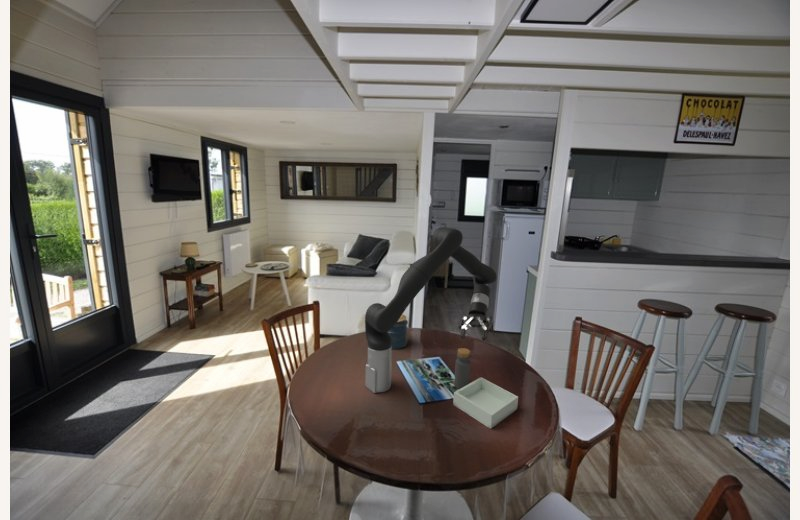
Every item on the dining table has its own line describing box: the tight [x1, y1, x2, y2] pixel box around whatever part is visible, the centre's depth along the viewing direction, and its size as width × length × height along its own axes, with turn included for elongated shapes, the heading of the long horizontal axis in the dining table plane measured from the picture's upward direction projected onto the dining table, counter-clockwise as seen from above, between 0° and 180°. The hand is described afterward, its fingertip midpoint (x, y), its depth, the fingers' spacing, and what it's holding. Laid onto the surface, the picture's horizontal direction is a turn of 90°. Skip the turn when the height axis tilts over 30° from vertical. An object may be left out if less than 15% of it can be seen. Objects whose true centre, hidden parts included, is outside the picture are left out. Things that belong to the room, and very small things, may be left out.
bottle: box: [453, 347, 471, 390], centre depth 130 cm, size 6×6×15 cm
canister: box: [388, 313, 409, 350], centre depth 165 cm, size 13×13×18 cm
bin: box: [452, 376, 519, 430], centre depth 118 cm, size 16×16×5 cm
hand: (472, 339), depth 134 cm, fingers open, 8 cm apart
